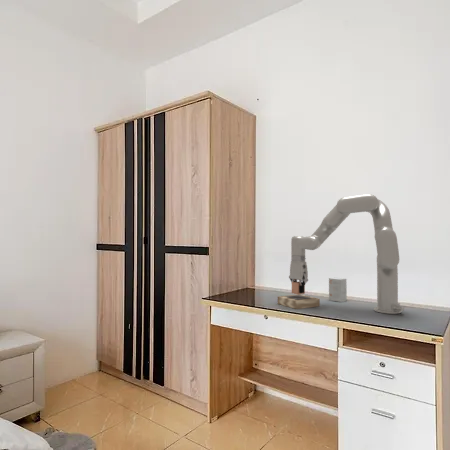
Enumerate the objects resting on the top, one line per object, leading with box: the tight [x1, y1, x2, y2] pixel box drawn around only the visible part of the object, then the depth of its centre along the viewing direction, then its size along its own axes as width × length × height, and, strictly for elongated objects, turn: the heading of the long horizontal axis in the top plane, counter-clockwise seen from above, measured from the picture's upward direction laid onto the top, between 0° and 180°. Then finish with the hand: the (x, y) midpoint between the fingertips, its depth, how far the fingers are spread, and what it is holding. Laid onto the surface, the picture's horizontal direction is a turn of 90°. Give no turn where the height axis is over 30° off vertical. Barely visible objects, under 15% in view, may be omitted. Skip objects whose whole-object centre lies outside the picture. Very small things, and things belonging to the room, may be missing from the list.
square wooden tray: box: [277, 294, 321, 310], centre depth 198 cm, size 16×16×4 cm
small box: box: [328, 277, 348, 303], centre depth 212 cm, size 8×6×13 cm
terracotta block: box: [291, 281, 306, 295], centre depth 198 cm, size 5×5×6 cm
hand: (298, 291), depth 198 cm, fingers closed on terracotta block, 5 cm apart
